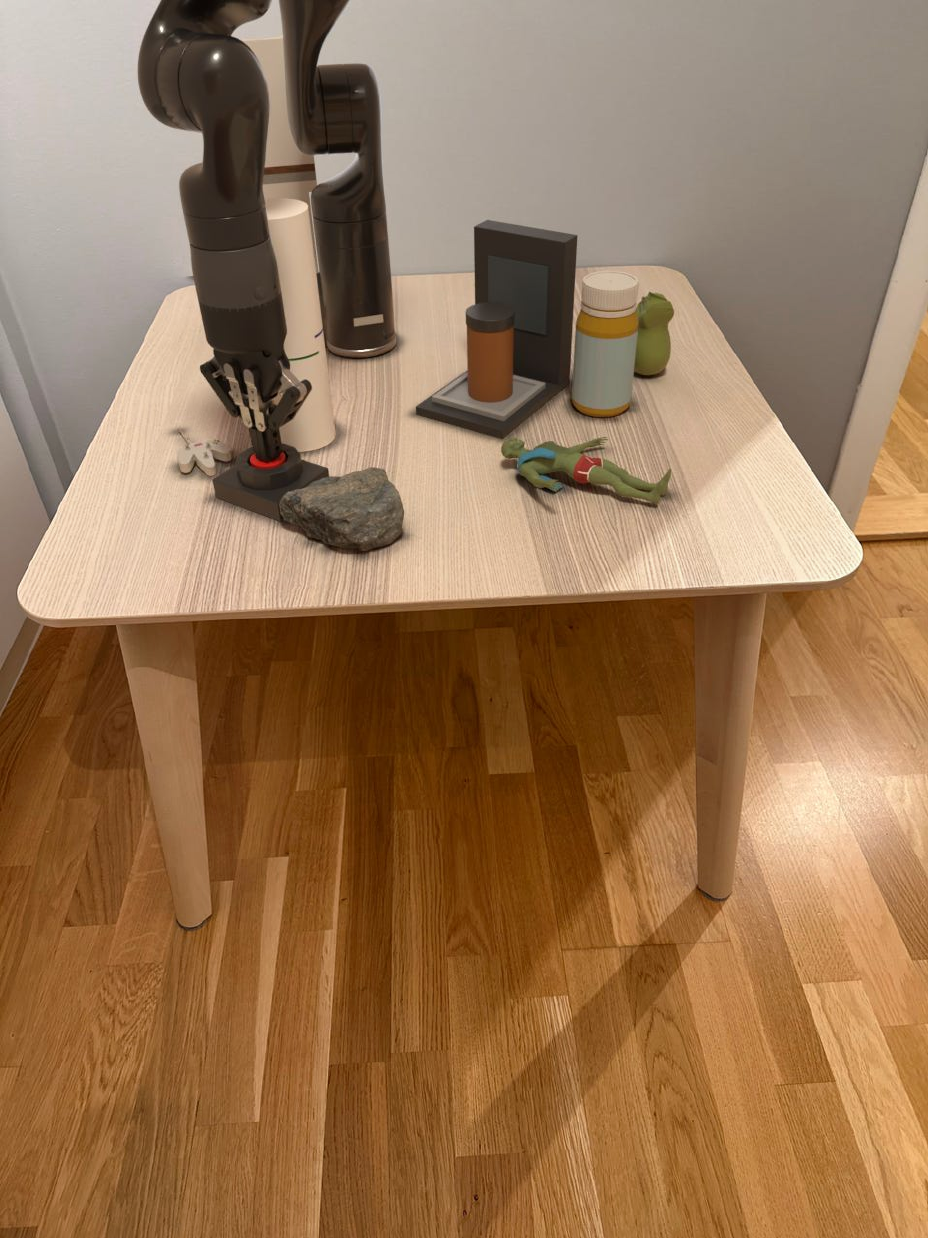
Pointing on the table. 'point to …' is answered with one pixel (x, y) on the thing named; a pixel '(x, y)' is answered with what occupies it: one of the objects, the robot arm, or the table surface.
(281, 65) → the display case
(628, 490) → the figurine
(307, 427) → the cylindrical container
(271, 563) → the table surface
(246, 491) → the control block
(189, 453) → the game controller
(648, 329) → the pear
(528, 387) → the coffee maker
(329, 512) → the rock
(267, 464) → the button
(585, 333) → the bottle
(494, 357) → the orange canister with lid
